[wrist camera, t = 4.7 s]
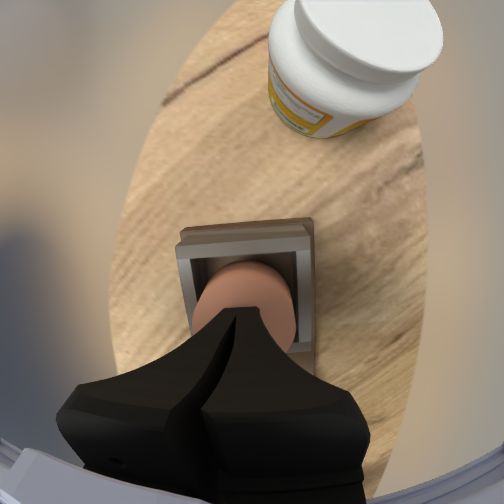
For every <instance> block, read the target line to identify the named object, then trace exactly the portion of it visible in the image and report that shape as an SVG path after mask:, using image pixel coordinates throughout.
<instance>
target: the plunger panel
mask: <svg viewBox="0 0 504 504" xmlns="http://www.w3.org/2000/svg"><path fill="white" fill-rule="evenodd" d="M180 237H181V242H179V243H178V244H177V245H176V246H175V252H176V258H177V264H178V269H179V275H180V281H181V286H182V291H183V296H184V302H185V307H186V312H187V316H188V321H189V326H190V330H191V335H192V336H193V335H194V332H193V327H192V318H193V313H194V310H195V307H196V305H197V303H198V301H199V299H200V297H201V295H202V293H203V291H204V289H205V287H206V285H207V283H208V281H209V280H210V278H211V277H212V275H213V274H214V273H215V272H216V271H217V270H219V269H220V268H221V267H223V266H225V265H227V264H229V263H232V262H236V261H242V260H251V261H257V262H261V263H264V264H266V265H268V266H270V267H272V268H273V269H275V270H276V271H277V272H278V273H279V274H281V276H282V277H283V278H284V279H285V281H286V283H287V285H288V287H289V289H290V293H291V299H292V304H293V310H294V315H295V322H296V332H295V337H294V340H293V342H292V344H291V346H290V348H289V349H288V350H287V352H286V354H287V355H288V356H289V357H290V358H291V359H292V360H293V361H294V362H295V363H297V364H298V365H299V366H300V367H302V368H303V369H305V370H306V371H307V372H309V373H310V374H312V375H314V355H315V254H314V227H313V220H312V219H311V218H310V217H308V218H293V219H279V220H265V221H252V222H240V223H228V224H217V225H206V226H196V227H186V228H184V229H183V230H182V231H180Z"/></svg>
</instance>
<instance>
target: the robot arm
mask: <svg viewBox="0 0 504 504" xmlns="http://www.w3.org/2000/svg"><path fill="white" fill-rule="evenodd" d="M56 422H57V425H58V428H59V431H60V432H61V434H62V435H63V437H64V438H65V440H66V441H67V442H68V444H69V445H70V446H71V447H72V449H73V450H74V451H75V452H76V454H77V455H78V456H79V457H80V459H81V460H82V461H83V462H84V463H85V465H84V467H83V468H80V467H77V466H75V465H72V464H70V463H67V462H65V461H63V460H60V459H58V458H56V457H53V456H51V455H49V454H47V453H45V452H42V451H38V450H35V449H32V448H25V449H24V450H23V451H22V450H20V449H18V448H17V447H15V446H13V445H12V444H10V443H8V442H7V441H5V440H4V439H2V438H1V437H0V501H1V502H2V503H3V504H504V442H503V444H502V445H501V446H499V447H498V448H496V449H494V450H493V451H491V452H489V453H487V454H486V455H484V456H482V457H480V458H478V459H477V460H474V461H472V462H470V463H468V464H466V465H464V466H462V467H460V468H458V469H456V470H454V471H451V472H449V473H447V474H445V475H442V476H440V477H438V478H435V479H432V480H430V481H427V482H424V483H422V484H419V485H416V486H413V487H410V488H407V489H404V490H401V491H398V492H395V493H391V494H387V495H384V496H380V497H376V498H372V499H368V500H366V498H365V494H364V489H363V485H362V482H363V480H364V474H363V470H362V466H361V465H362V462H363V460H364V457H365V454H366V452H367V449H368V446H369V443H370V432H369V428H368V425H367V422H366V420H365V418H364V416H363V414H362V412H361V410H360V408H359V407H358V405H357V403H356V402H355V400H354V398H353V397H352V395H351V394H350V393H349V392H348V391H345V390H343V389H341V388H338V387H336V386H334V385H331V384H329V383H327V382H324V381H322V380H321V379H319V378H317V377H315V376H314V375H312V374H310V373H309V372H307V371H306V370H305V369H303V368H302V367H300V366H299V365H298V364H297V363H295V362H294V361H293V360H292V359H291V358H290V357H289V356H288V355H287V354H286V353H285V352H284V351H283V350H282V349H281V348H280V347H279V345H278V344H277V343H276V341H275V340H274V339H273V337H272V336H271V335H270V333H269V331H268V330H267V328H266V326H265V325H264V323H263V320H262V318H261V315H260V309H259V308H258V307H257V306H253V307H235V308H224V309H222V310H221V311H220V312H219V313H218V314H217V315H216V316H215V317H214V318H213V319H212V320H211V321H209V322H208V323H207V324H206V325H205V326H204V327H203V328H202V329H201V330H199V331H198V332H197V333H196V334H194V335H193V336H192V337H191V338H189V339H188V340H187V341H186V342H184V343H183V344H182V345H180V346H179V347H177V348H176V349H174V350H173V351H171V352H169V353H168V354H166V355H164V356H163V357H161V358H159V359H157V360H155V361H153V362H151V363H148V364H146V365H144V366H142V367H140V368H138V369H135V370H132V371H130V372H127V373H124V374H121V375H118V376H115V377H112V378H108V379H104V380H99V381H95V382H90V383H86V384H80V385H78V386H77V387H76V388H75V390H74V391H73V392H72V394H71V395H70V396H69V398H68V399H67V400H66V402H65V403H64V404H63V406H62V407H61V409H60V410H59V412H58V413H57V414H56Z"/></svg>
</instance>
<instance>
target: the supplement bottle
mask: <svg viewBox="0 0 504 504" xmlns="http://www.w3.org/2000/svg"><path fill="white" fill-rule="evenodd" d="M442 46H443V30H442V26H441V23H440V20H439V18H438V16H437V13H436V11H435V10H434V8H433V6H432V5H431V4H430V2H429V1H428V0H286V1H285V2H284V3H283V4H282V5H281V6H280V8H279V9H278V11H277V12H276V14H275V15H274V18H273V20H272V23H271V27H270V32H269V41H268V48H269V49H268V51H269V65H268V68H269V71H268V91H269V98H270V101H271V104H272V106H273V108H274V110H275V112H276V114H277V115H278V116H279V118H280V119H281V120H282V121H283V122H284V123H285V124H286V125H287V126H289V127H290V128H291V129H293V130H295V131H297V132H299V133H301V134H303V135H306V136H310V137H315V138H330V137H334V136H338V135H341V134H343V133H346V132H348V131H350V130H352V129H354V128H356V127H358V126H361V125H363V124H365V123H368V122H370V121H372V120H375V119H377V118H380V117H382V116H384V115H386V114H388V113H390V112H392V111H394V110H395V109H397V108H399V107H400V106H402V105H403V104H404V103H405V102H406V101H407V100H408V99H409V98H410V97H411V95H412V94H413V92H414V91H415V89H416V87H417V84H418V81H419V78H420V72H421V71H423V70H425V69H426V68H428V67H429V66H431V65H432V64H433V63H434V62H435V61H436V60H437V58H438V56H439V55H440V52H441V50H442Z"/></svg>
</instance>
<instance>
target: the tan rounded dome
mask: <svg viewBox="0 0 504 504" xmlns="http://www.w3.org/2000/svg"><path fill="white" fill-rule="evenodd" d="M253 306H257V307H258V308H259V309H260V315H261V318H262V320H263V323H264V325H265V326H266V328H267V330H268V331H269V333H270V335H271V336H272V337H273V339H274V340H275V341H276V343H277V344H278V345H279V347H280V348H281V349H282V350H283V351H284V352H285V353H286V352H287V350H288V349H289V348H290V346H291V344H292V342H293V340H294V337H295V332H296V322H295V315H294V310H293V304H292V299H291V293H290V289H289V287H288V285H287V283H286V281H285V279H284V278H283V277H282V276H281V274H279V273H278V272H277V271H276V270H275V269H273V268H272V267H270V266H268V265H266V264H264V263H261V262H257V261H251V260H242V261H236V262H232V263H229V264H227V265H225V266H223V267H221V268H220V269H219V270H217V271H216V272H215V273H214V274H213V275H212V277H211V278H210V280H209V281H208V283H207V285H206V287H205V289H204V291H203V293H202V295H201V297H200V299H199V301H198V303H197V305H196V307H195V310H194V313H193V318H192V327H193V332H194V334H196V333H197V332H198V331H199V330H201V329H202V328H203V327H204V326H205V325H206V324H207V323H208V322H209V321H211V320H212V319H213V318H214V317H215V316H216V315H217V314H218V313H219V312H220V311H221V310H222V309H224V308H235V307H253Z"/></svg>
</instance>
